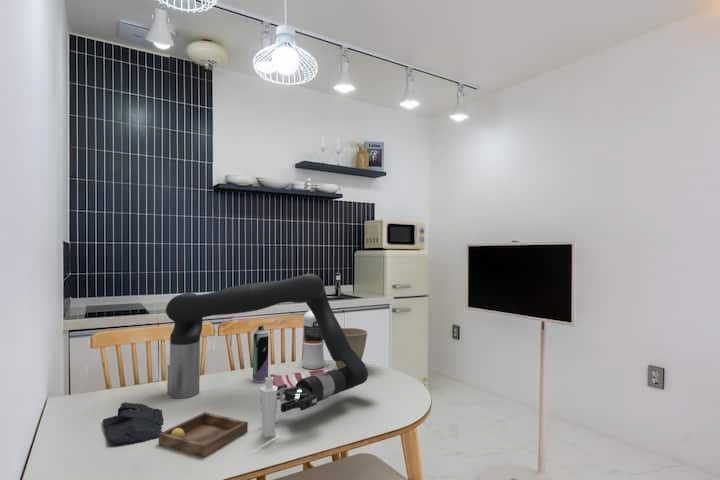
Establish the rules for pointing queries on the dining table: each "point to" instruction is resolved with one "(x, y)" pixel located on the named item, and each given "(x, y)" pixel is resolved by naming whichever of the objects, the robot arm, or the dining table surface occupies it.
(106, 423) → the dark folded fabric bundle
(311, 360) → the vodka
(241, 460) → the dining table surface
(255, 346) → the spray can
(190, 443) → the tray
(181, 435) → the ball
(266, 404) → the white faceted vase
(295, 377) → the dish towel
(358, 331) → the plant pot
